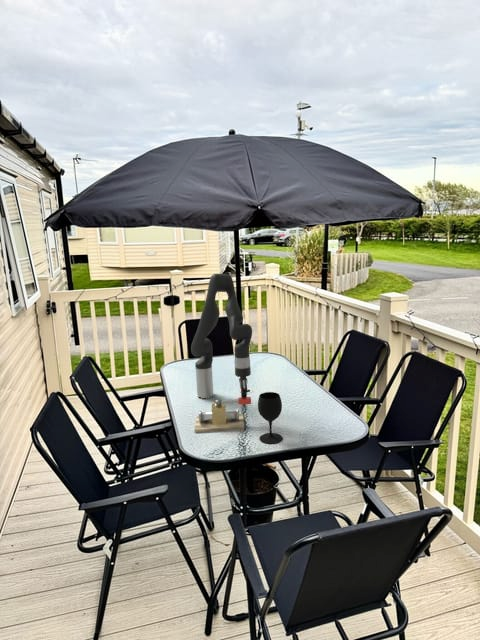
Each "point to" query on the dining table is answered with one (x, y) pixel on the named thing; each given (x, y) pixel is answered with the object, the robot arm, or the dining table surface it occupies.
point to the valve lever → (234, 401)
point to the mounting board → (219, 425)
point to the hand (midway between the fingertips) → (244, 399)
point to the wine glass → (270, 415)
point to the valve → (218, 415)
